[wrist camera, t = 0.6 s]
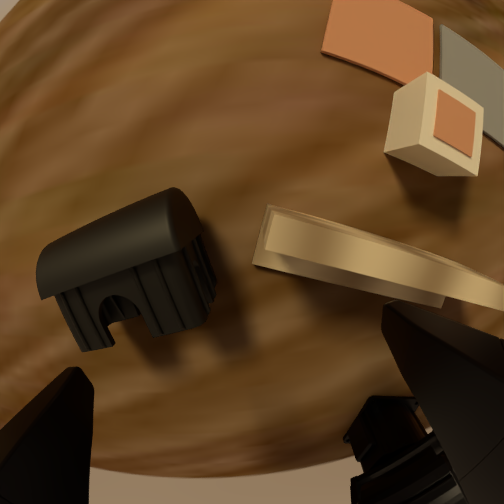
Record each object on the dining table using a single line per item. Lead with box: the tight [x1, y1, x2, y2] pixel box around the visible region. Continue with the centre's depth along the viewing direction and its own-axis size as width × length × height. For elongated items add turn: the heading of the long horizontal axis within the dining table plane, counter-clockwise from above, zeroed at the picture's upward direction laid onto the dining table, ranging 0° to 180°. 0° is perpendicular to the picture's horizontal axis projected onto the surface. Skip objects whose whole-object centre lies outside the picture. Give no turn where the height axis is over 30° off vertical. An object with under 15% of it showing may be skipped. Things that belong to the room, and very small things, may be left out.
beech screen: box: [252, 204, 504, 311], centre depth 15 cm, size 16×4×8 cm, turn 76°
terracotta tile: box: [321, 0, 433, 85], centre depth 15 cm, size 9×9×1 cm
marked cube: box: [384, 72, 484, 176], centre depth 15 cm, size 5×5×5 cm
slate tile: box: [439, 24, 504, 148], centre depth 15 cm, size 9×9×1 cm
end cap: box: [36, 187, 217, 352], centre depth 16 cm, size 10×7×7 cm
